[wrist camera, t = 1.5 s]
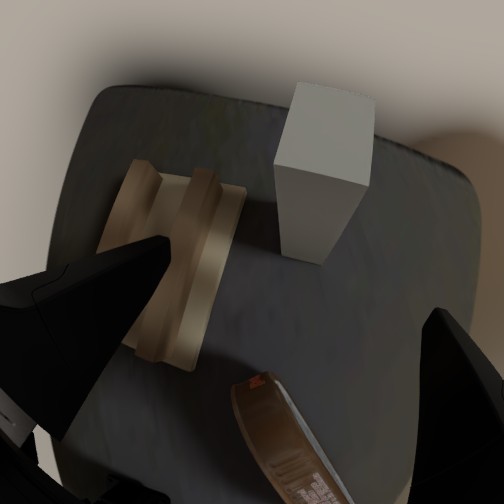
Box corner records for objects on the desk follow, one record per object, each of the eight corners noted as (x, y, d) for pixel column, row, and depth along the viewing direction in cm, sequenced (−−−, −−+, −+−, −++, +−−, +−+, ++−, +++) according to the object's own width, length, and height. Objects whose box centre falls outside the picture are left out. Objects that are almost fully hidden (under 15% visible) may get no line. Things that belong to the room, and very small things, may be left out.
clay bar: (321, 265, 20) (368, 186, 8) (281, 255, 20) (273, 164, 8) (332, 214, 21) (375, 98, 9) (294, 205, 21) (298, 81, 9)
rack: (194, 369, 19) (174, 379, 15) (92, 324, 21) (61, 322, 17) (247, 193, 22) (239, 167, 18) (142, 174, 24) (121, 152, 20)
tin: (238, 375, 19) (206, 409, 11) (278, 355, 19) (272, 380, 11) (325, 511, 15) (336, 574, 7) (359, 495, 15) (384, 555, 7)
